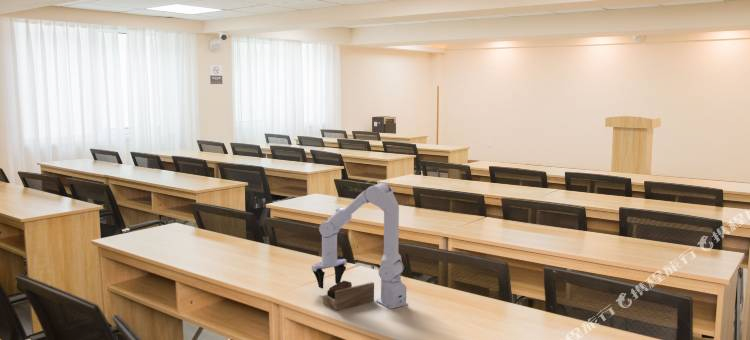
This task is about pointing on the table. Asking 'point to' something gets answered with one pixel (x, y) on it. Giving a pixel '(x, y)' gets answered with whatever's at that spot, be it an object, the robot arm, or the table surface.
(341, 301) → the book rack
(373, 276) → the table surface
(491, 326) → the table surface
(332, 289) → the brick
